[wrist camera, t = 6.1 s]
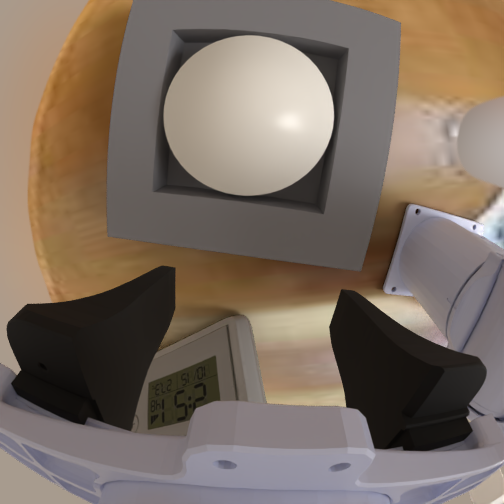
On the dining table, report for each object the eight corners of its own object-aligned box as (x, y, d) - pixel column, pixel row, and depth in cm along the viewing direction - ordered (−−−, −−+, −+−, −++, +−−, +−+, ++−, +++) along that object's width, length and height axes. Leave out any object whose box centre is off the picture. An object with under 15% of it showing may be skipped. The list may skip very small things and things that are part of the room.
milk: (446, 431, 34) (480, 525, 13) (474, 413, 32) (514, 504, 12) (449, 440, 35) (478, 526, 15) (474, 424, 34) (509, 507, 13)
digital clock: (252, 302, 24) (243, 401, 15) (285, 371, 27) (290, 461, 18) (112, 342, 27) (68, 414, 17) (155, 396, 30) (130, 467, 20)
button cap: (331, 63, 16) (342, 50, 13) (311, 196, 20) (319, 207, 17) (188, 47, 16) (176, 33, 13) (172, 179, 20) (156, 186, 17)
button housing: (382, 36, 15) (400, 22, 12) (348, 252, 22) (360, 271, 19) (152, 10, 15) (135, -6, 12) (127, 222, 22) (107, 236, 19)
